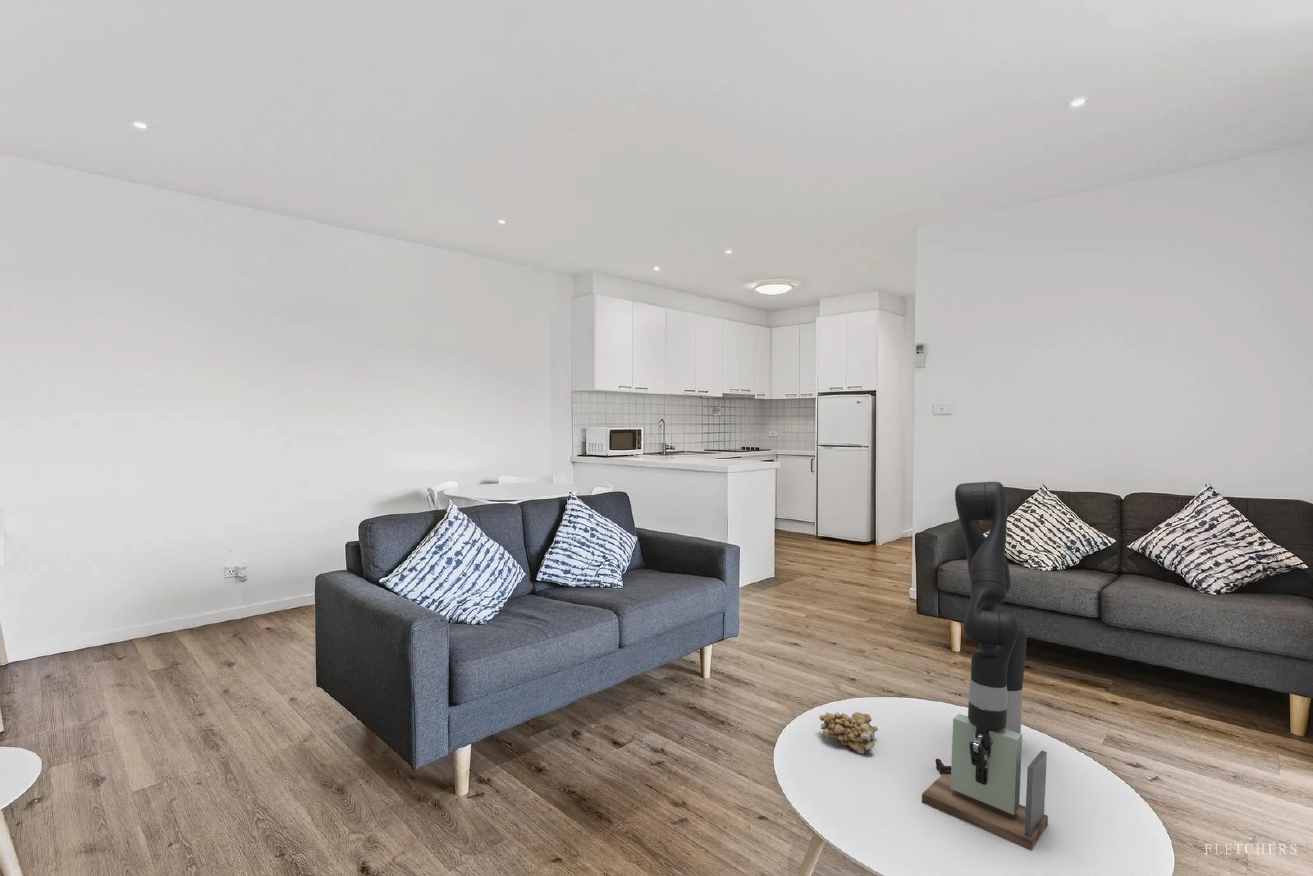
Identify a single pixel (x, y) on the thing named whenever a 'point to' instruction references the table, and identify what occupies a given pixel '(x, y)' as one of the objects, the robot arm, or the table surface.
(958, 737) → the sage book
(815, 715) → the table surface
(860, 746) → the mineral formation
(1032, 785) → the grey metal bookend
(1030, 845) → the walnut shelf board
